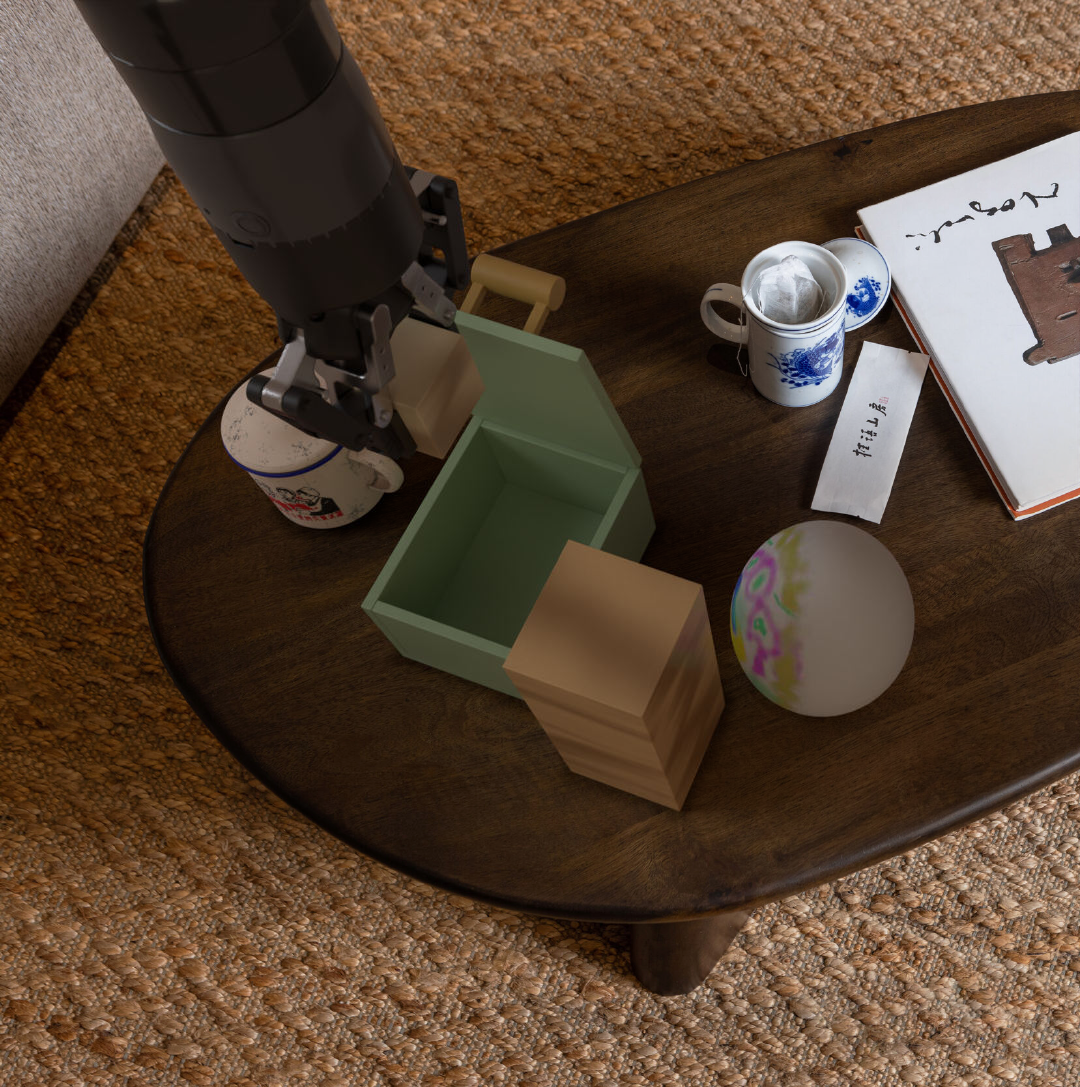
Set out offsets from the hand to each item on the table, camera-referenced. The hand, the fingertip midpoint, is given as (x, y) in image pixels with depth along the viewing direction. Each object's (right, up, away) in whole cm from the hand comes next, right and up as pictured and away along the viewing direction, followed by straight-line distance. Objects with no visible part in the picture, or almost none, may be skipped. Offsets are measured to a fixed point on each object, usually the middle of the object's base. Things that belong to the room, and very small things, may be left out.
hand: (422, 406), depth 60 cm
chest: (-1, -10, +26) cm, 28 cm away
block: (0, 0, 0) cm, 0 cm away
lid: (+1, +2, +13) cm, 13 cm away
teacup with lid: (-16, -3, +30) cm, 34 cm away
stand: (+8, -20, +21) cm, 30 cm away
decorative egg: (+20, -15, +24) cm, 35 cm away
